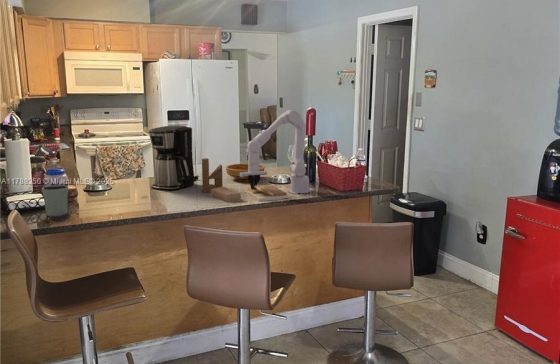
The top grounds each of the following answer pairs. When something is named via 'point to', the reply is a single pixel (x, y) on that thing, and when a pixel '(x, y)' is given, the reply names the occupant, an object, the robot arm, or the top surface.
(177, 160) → the coffee maker
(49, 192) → the gray cup
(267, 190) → the plank
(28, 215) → the top surface
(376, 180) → the top surface
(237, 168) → the wooden bowl
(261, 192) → the plank
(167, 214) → the top surface
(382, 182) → the top surface
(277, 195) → the floor board
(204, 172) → the brown wooden bracket
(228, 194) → the brick
